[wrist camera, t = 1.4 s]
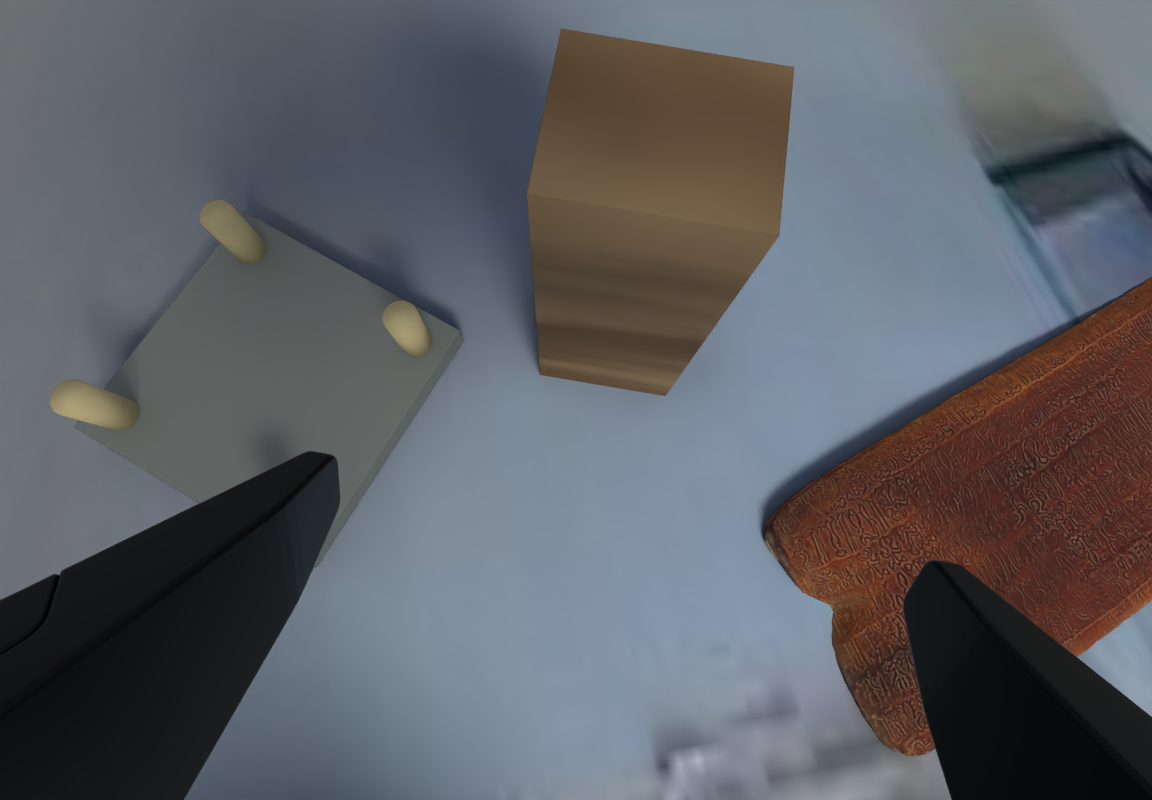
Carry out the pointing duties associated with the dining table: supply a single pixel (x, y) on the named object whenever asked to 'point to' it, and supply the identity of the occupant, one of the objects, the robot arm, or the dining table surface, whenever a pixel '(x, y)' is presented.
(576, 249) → the walnut shelf block
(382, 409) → the peg plate
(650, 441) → the dining table surface
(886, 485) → the wooden tablet
